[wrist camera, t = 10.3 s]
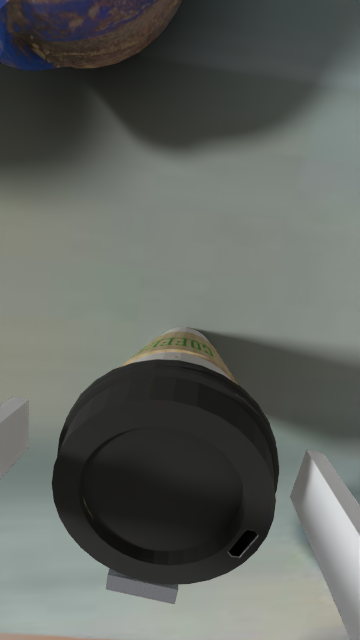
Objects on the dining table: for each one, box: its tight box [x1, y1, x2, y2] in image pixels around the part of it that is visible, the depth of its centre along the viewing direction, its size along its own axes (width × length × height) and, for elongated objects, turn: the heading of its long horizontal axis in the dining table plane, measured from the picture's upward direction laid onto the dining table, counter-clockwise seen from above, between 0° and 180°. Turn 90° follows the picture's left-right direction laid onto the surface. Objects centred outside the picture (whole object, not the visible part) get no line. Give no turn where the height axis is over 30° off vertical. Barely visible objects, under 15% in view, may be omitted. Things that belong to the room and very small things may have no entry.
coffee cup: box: [52, 327, 279, 585], centre depth 16 cm, size 10×10×15 cm
